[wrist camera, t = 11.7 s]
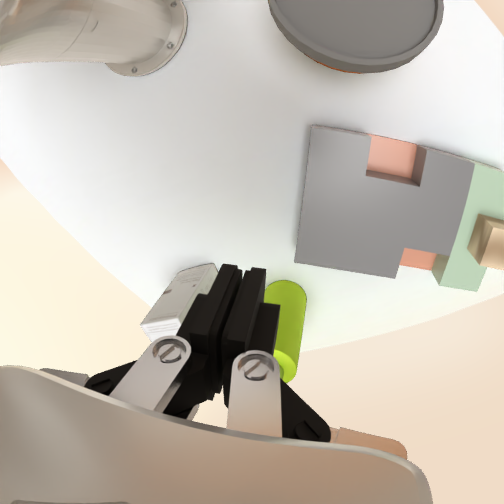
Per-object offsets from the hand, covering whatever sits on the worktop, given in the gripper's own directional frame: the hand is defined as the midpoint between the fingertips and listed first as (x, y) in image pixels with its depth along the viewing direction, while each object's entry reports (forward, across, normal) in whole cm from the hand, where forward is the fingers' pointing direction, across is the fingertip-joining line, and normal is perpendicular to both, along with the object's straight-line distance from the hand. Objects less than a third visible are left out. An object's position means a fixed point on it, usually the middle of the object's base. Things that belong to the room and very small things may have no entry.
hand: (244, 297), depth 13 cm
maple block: (+21, -24, +4) cm, 32 cm away
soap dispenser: (+25, -1, +19) cm, 32 cm away
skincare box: (+26, +11, +18) cm, 33 cm away
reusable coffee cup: (+26, -5, -16) cm, 31 cm away
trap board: (+25, -14, +4) cm, 29 cm away
